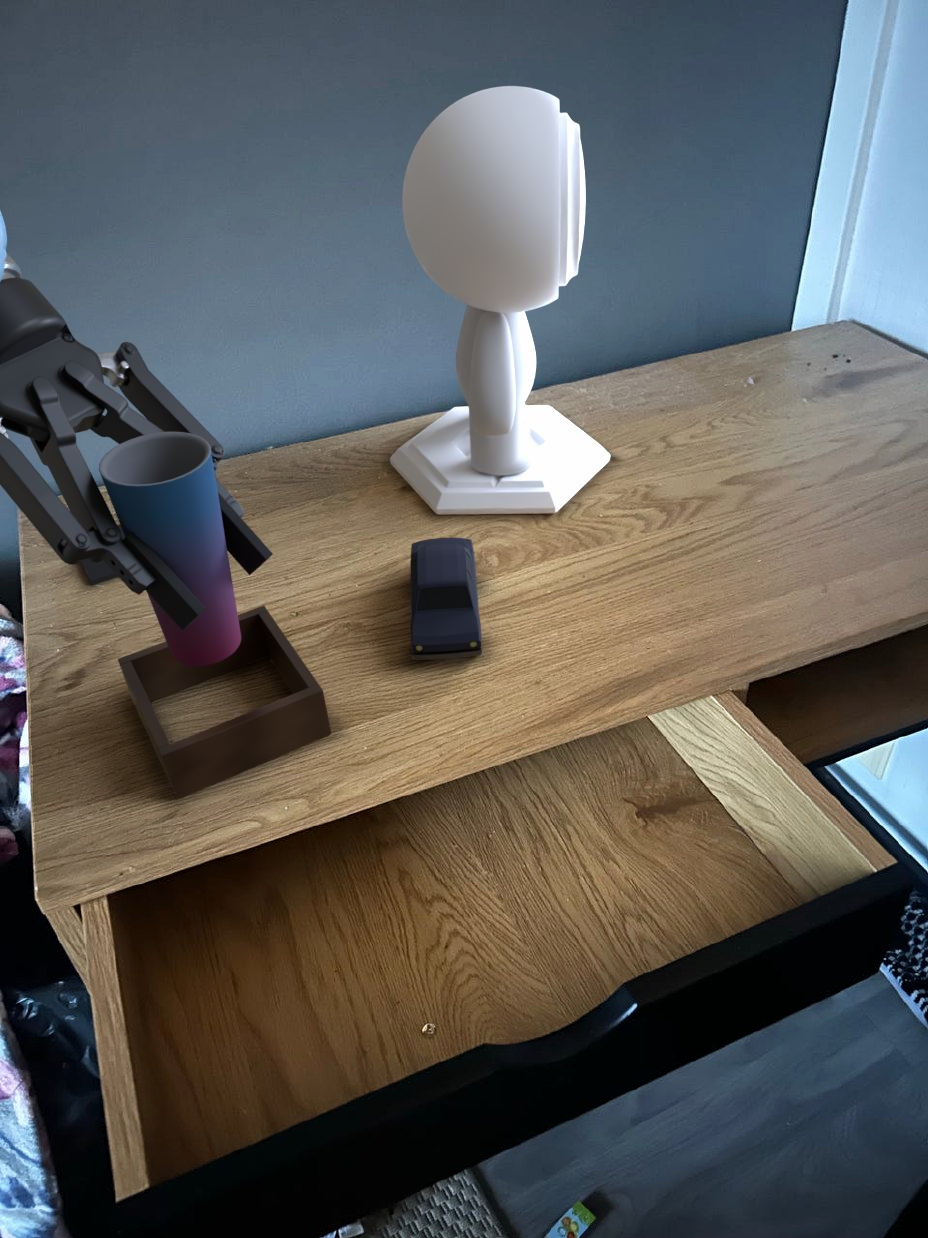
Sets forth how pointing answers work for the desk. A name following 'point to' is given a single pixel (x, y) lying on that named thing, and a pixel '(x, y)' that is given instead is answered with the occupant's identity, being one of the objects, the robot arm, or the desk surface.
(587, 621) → the desk surface
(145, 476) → the cup
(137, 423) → the robot arm
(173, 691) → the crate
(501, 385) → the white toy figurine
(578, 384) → the desk surface
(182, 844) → the desk surface
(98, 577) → the mat
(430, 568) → the toy car
